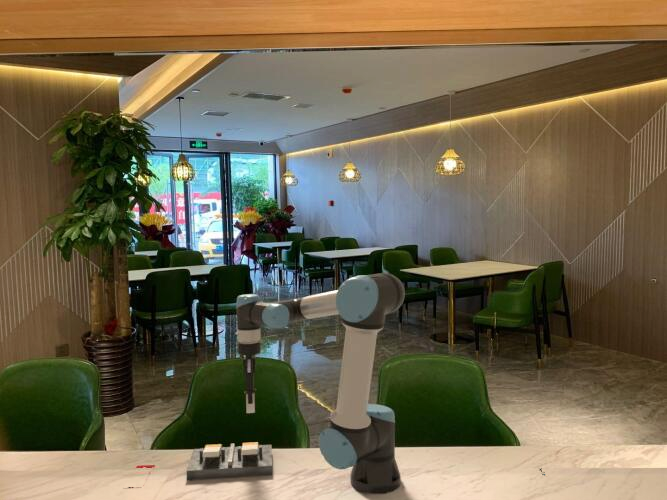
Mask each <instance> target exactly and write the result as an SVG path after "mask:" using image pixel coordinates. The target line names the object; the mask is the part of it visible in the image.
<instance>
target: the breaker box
mask: <svg viewBox="0 0 667 500" xmlns="http://www.w3.org/2000/svg"><path fill="white" fill-rule="evenodd" d="M204 449H205V447H204V448H203V447H201V448H193V451H192V453H191V456H190V459H189V462H188V466H187V469H186V481H199V480H201V481H202V480H215V479H231V478H245V477H246V478H247V477H248V478H249V477H258V476H259V477H262V476H272V475H273V459H272V457H273V452H272V451H273V450H272V444H258V454H251V455H242V446H241V445H239V446H235V443H230V446H226V447H225V446H222V449H221V452H220V455H219V456H217V457H203V451H204Z"/></svg>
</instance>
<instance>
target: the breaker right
mask: <svg viewBox="0 0 667 500" xmlns="http://www.w3.org/2000/svg"><path fill="white" fill-rule="evenodd" d="M258 445H259V442H258V441H256V442H255V441H254V442H251V441H250V442H242V455H251V454H258Z"/></svg>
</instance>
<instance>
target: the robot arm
mask: <svg viewBox="0 0 667 500" xmlns="http://www.w3.org/2000/svg"><path fill="white" fill-rule="evenodd" d="M405 295H406V293H405V287H404V284H403V283H402V281H401V280H400V279H399V278H398V277H397V276H396V275H393V274H391V273H388V272H387V273H386V272H381V273H375V274H373V273H372V274H367V275H366V274H365V275H363V274H361V275H356V276H353V277H350V278H348V279H346V280H345V281H344V282H342V283H341V285H340V286H339V287H338V289H337V290H331V291H326V292H322V293H316V294H311V295H308V296H302V297H297V298H293V299H287V300H285V299H284V300H279V301H273V302H264V301H263V302H262V301H261V299H260V296H259V295H258V294H255V293H249V294H248V293H247V294H246V293H245V294H241V295H238V296H237V298H236V307H235V309H236V330H237V331H235V335H236V336H237V338H236V339H237V341H238V342H237V354H238V355H240V356H244V357H245V358H243V362H242V364H243V369H244V370H243V372H244V374H245V391H243V394H244V395H245V402H246V403H245V405H246V407H245V408H246V409H245V410H246V411H245V412H246V414H255V413H256V409H255V408H256V406H255V405H256V403H255V402H256V401H255V399H256V398H255V397H256V396H255V392H257V388H255V382H254V381H255V373H256V357H254V356H255V355H260V353H261V347H262V346H261V341H260V340H261V338H262V337H261V326H262V327H267V328H271V329H275V328H277V329H280V328H283V327H285V326H286V325H287V324H290V323H295V322H301V321H307V320H311V319H317V318H318V319H319V318H324V317H329V316H336V315H339V316H340V317H341V321H340V322H341V324H342V325H343V327H345V335H344V341H343V343H344V345H343V350H342V359H341V368H340V377H339V384H338V392H337V401H336V408H335V409H334V410H332V411H331V413H330V414H329V420H328V427H327V428H324V429H323V430H322V432H321V433H320V434H319V436H318V448H319V451H320V453H321V455H322V456H323V458H324V460H325V461H326V462H327V464H329V466H331V467H332V468H334V469H336V470H346V469H349V468H352V469H351V471H350V484H351V486H352V487H353V488H355V489H356V490H357V491H360V492H363V493H366V494H373V495H382V494H388V493H392V492H394V491H395V490H397V489H399V487H400V486H401V481H402V479H401V478H402V477H401V476H402V475H401V473H400V469H399V467H398V463H397V459H396V455H395V454H396V452H395V451H396V450H395V449H396V448H395V447H396V443H395V442H396V440H395V439H396V429H395V428H396V420H395V418H396V417H395V411H394V410H393V409H392V408H390V407H389V406H386V405H383V404H382V405H381V404H375V403H369V398H370V391H371V385H372V384H371V382H372V377H373V367H374V359H375V354H376V351H375V350H376V345H377V344H376V343H377V339H378V338H377V337H378V334H379V332H380V331H382V330H383V329H384V327H385V320H386V315H389V314H392V313H394V312H396V311H397V310H399V309H400V307H401V306H402V305H403V303H404V300H405V297H406V296H405Z"/></svg>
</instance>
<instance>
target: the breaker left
mask: <svg viewBox="0 0 667 500" xmlns="http://www.w3.org/2000/svg"><path fill="white" fill-rule="evenodd" d="M222 447H223V444H221V443H218V444H205V446H204V451H203V457H217V456H219V455H220V452H221V449H222Z"/></svg>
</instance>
